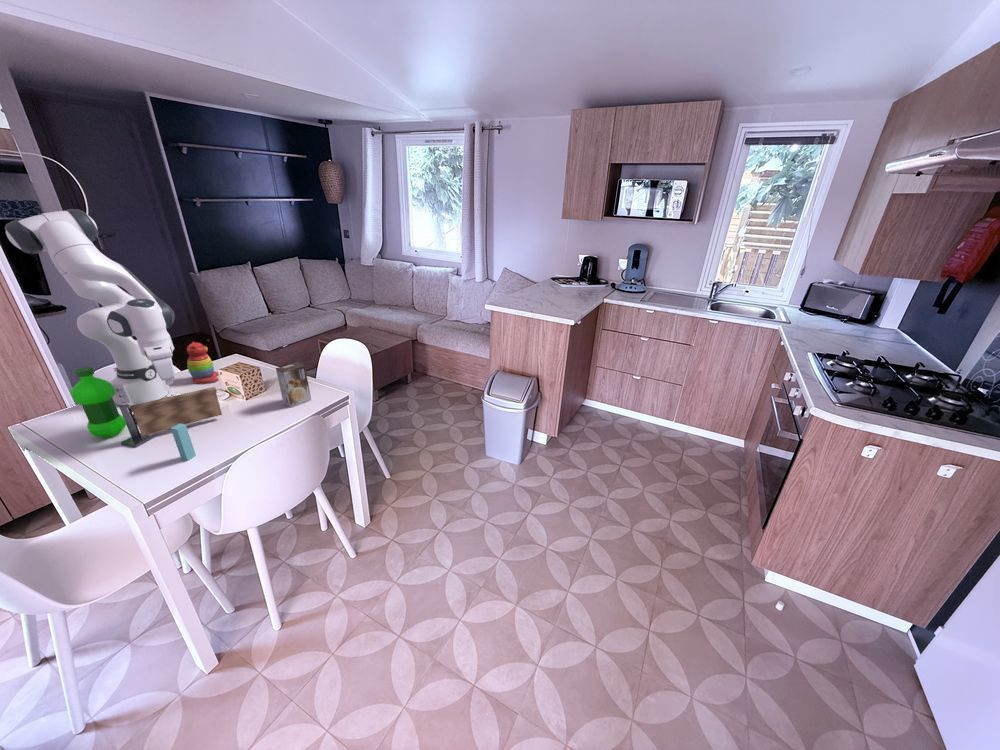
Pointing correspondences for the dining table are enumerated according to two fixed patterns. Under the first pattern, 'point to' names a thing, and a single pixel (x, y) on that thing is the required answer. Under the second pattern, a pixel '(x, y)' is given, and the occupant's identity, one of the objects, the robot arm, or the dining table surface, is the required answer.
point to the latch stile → (183, 441)
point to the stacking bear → (200, 364)
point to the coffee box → (293, 384)
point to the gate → (176, 410)
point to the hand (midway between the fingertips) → (169, 383)
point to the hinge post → (132, 429)
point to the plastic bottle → (97, 404)
